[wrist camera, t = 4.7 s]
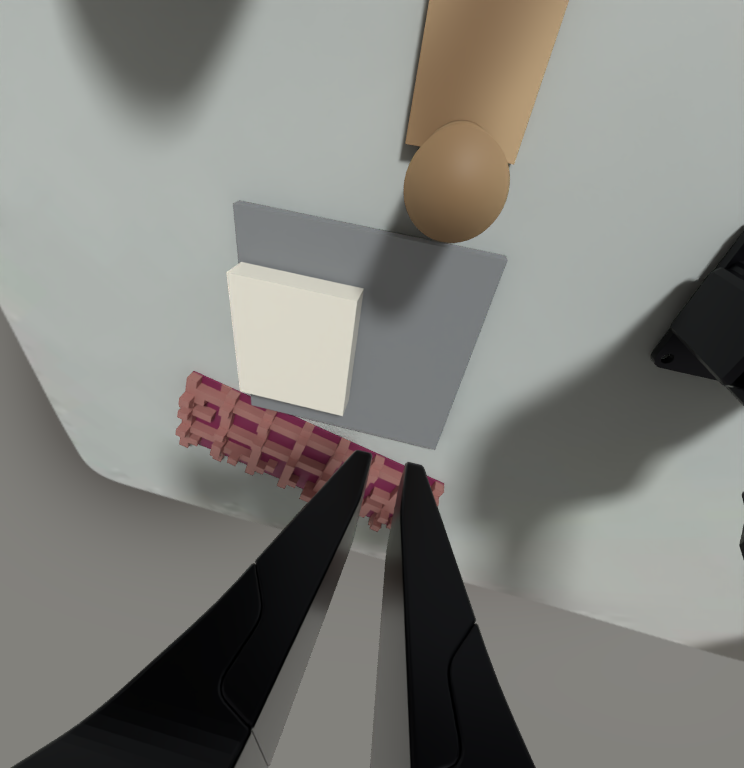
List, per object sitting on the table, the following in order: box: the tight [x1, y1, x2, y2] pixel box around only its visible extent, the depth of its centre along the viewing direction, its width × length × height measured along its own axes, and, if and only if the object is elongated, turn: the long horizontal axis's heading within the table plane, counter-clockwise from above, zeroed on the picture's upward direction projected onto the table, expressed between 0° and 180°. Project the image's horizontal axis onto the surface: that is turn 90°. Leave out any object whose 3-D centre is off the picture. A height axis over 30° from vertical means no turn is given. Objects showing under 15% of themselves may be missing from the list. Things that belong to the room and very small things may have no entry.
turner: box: [404, 0, 569, 243], centre depth 10 cm, size 4×8×6 cm, turn 172°
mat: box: [233, 201, 507, 450], centre depth 19 cm, size 12×12×1 cm
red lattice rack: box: [176, 371, 444, 532], centre depth 26 cm, size 7×19×2 cm, turn 66°
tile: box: [226, 262, 364, 416], centre depth 19 cm, size 2×7×6 cm
